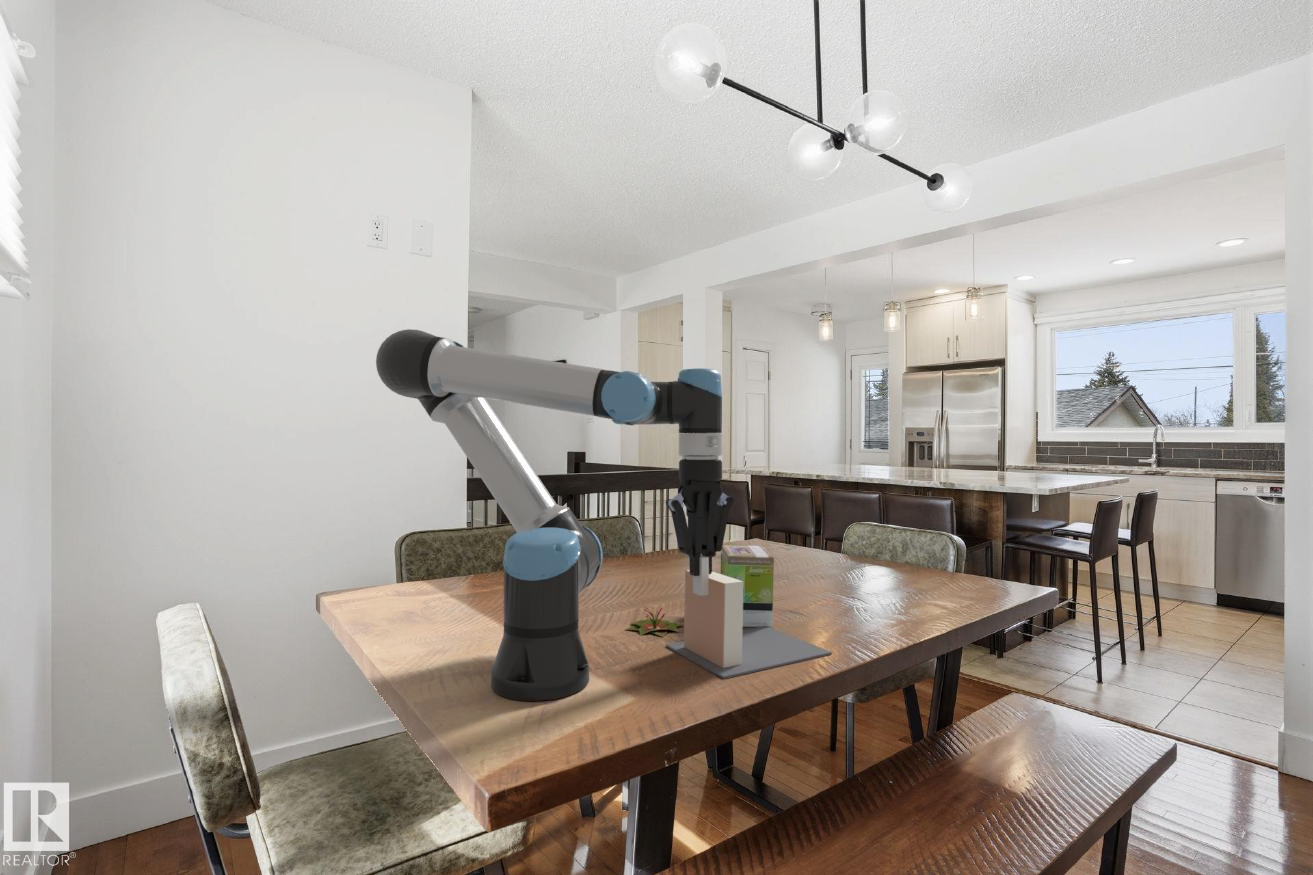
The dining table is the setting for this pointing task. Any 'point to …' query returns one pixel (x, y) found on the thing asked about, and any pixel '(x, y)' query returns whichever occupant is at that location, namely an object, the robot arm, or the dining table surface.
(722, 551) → the tea box
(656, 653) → the dining table surface
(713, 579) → the cream rectangular block
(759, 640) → the mat
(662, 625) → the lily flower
